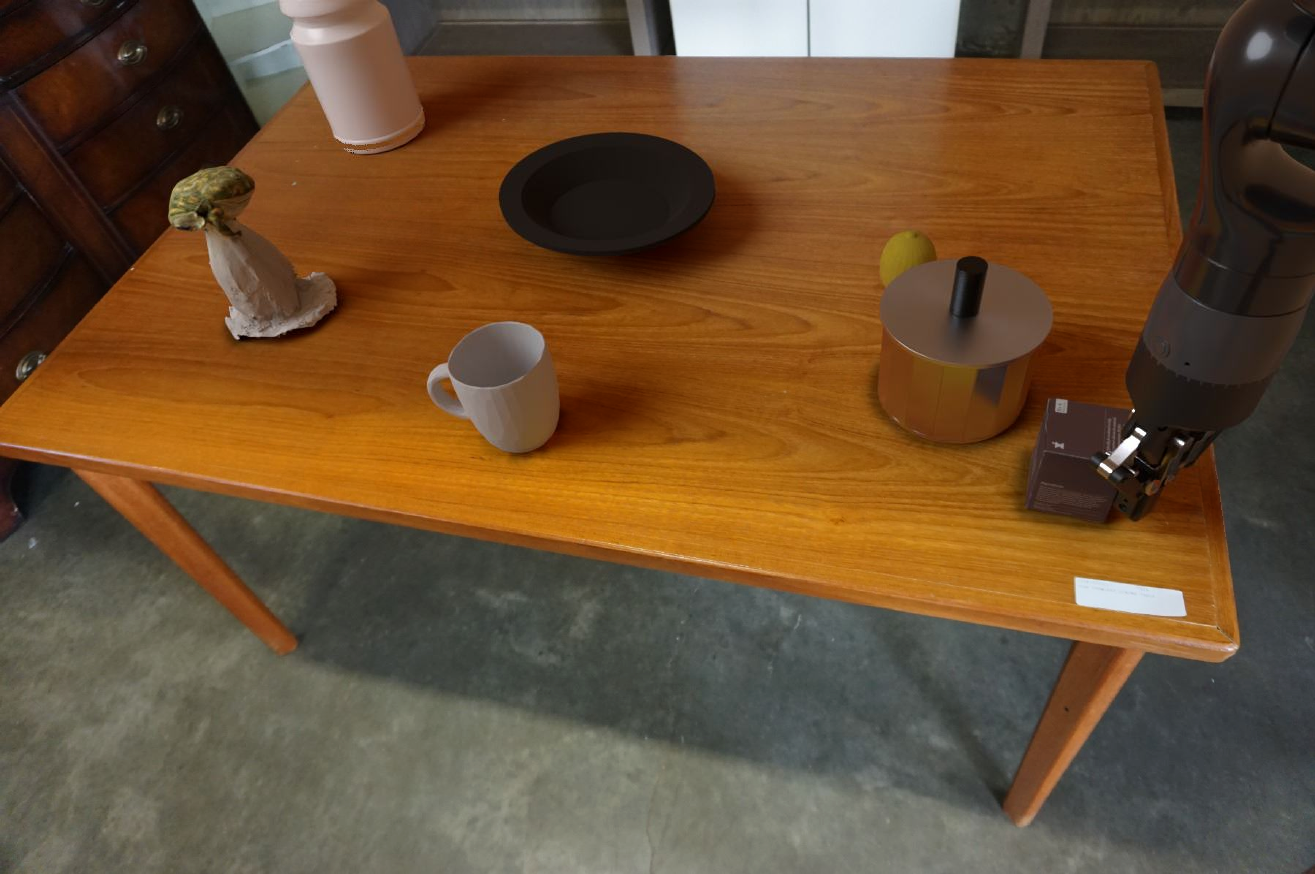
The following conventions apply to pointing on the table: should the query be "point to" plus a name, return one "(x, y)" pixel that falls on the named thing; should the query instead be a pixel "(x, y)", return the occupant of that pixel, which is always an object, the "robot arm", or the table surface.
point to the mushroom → (247, 257)
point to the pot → (951, 395)
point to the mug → (502, 385)
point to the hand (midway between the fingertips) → (1131, 510)
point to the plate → (607, 194)
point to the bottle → (356, 69)
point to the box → (1073, 459)
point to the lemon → (905, 254)
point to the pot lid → (966, 313)
